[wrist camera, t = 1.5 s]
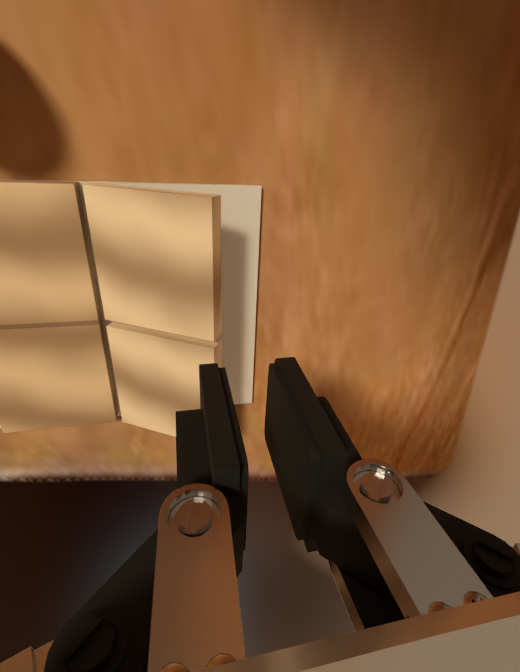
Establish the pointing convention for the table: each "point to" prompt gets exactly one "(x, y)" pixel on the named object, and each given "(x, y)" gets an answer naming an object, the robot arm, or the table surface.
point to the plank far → (157, 373)
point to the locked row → (49, 312)
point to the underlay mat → (235, 276)
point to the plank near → (157, 257)
